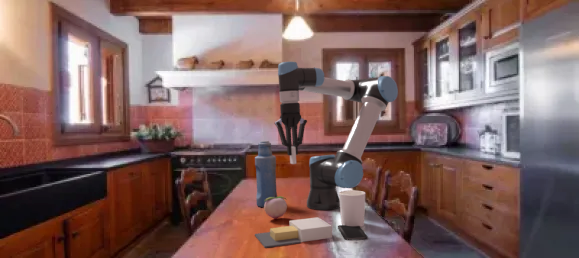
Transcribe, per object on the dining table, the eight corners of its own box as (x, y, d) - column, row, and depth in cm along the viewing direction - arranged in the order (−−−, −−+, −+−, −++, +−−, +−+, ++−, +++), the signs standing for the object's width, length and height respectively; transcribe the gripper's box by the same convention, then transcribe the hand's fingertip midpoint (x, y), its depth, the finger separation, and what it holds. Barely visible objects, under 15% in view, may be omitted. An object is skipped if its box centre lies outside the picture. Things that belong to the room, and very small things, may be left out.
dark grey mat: (287, 231, 138) (287, 229, 138) (300, 243, 124) (300, 241, 124) (254, 235, 134) (254, 233, 134) (264, 247, 121) (264, 246, 120)
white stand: (318, 228, 140) (318, 217, 140) (332, 237, 129) (331, 225, 129) (289, 231, 137) (289, 220, 137) (301, 241, 125) (301, 229, 125)
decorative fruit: (271, 223, 148) (270, 197, 148) (261, 219, 155) (260, 194, 155) (291, 219, 153) (291, 194, 153) (281, 215, 160) (281, 191, 160)
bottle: (280, 206, 177) (278, 141, 176) (259, 208, 173) (257, 142, 172) (273, 202, 186) (271, 140, 185) (253, 204, 182) (251, 141, 181)
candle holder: (357, 220, 150) (356, 189, 150) (371, 226, 141) (370, 193, 140) (334, 223, 146) (334, 191, 146) (347, 229, 137) (346, 196, 137)
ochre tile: (292, 232, 134) (292, 225, 134) (298, 237, 128) (298, 230, 128) (270, 235, 131) (269, 228, 131) (275, 240, 126) (274, 233, 126)
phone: (344, 238, 126) (337, 225, 141) (344, 241, 126) (337, 228, 141) (368, 237, 126) (358, 224, 141) (368, 240, 126) (358, 227, 141)
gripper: (277, 103, 142) (280, 166, 143) (309, 101, 147) (312, 162, 148) (270, 103, 149) (274, 164, 150) (301, 102, 154) (304, 160, 155)
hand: (293, 163), depth 149 cm, fingers closed
